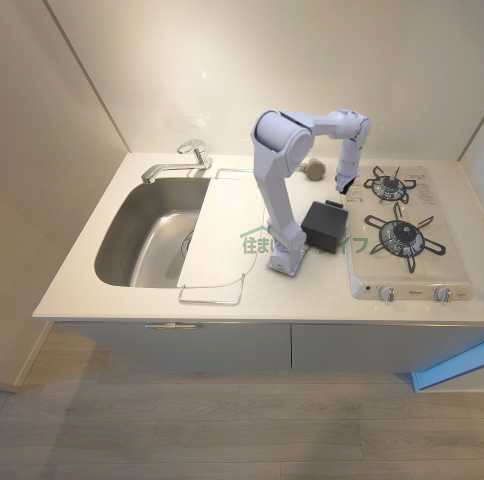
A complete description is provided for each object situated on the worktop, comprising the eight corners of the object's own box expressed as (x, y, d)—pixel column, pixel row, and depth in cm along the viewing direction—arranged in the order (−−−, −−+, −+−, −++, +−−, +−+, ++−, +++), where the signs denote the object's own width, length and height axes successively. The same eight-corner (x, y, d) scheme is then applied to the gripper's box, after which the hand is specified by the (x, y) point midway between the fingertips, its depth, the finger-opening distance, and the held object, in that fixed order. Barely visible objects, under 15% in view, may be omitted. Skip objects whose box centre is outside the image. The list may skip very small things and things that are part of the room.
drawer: (319, 206, 92) (320, 192, 86) (348, 215, 89) (351, 201, 84) (305, 235, 85) (305, 222, 79) (335, 246, 82) (338, 233, 77)
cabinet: (312, 218, 90) (313, 201, 83) (345, 228, 87) (348, 211, 80) (300, 242, 84) (300, 225, 77) (335, 253, 82) (338, 237, 75)
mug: (320, 163, 107) (328, 151, 97) (318, 185, 105) (326, 176, 96) (302, 159, 105) (309, 147, 96) (300, 182, 104) (306, 173, 94)
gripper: (356, 177, 67) (348, 212, 78) (370, 145, 75) (361, 181, 86) (330, 170, 69) (326, 205, 80) (346, 139, 76) (341, 175, 88)
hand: (343, 192), depth 83 cm, fingers closed
